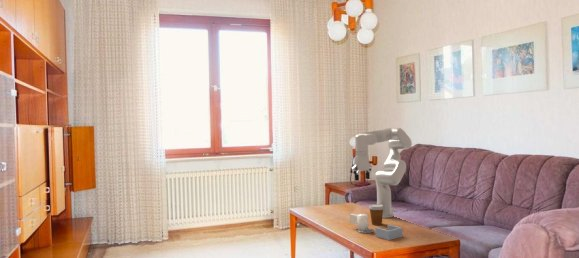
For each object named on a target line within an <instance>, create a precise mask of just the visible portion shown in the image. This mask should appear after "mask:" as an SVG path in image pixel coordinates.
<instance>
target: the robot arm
mask: <svg viewBox="0 0 579 258" xmlns="http://www.w3.org/2000/svg"><path fill="white" fill-rule="evenodd" d="M354 140H355V141H354V143H355V155H354V159H353V160H354V161H353V166H352V167H351V171H352V173H353V175H354V181H359V180H360V172H365V173H364V174H365V179H366V180H370V179H371V177H370V175H371V171H372V168H373V165H372V164H370V160H369V155H368V153H369V151H368V146H374V145H376V144H379V143H385V142H387V143H388V144H387V145H388V149H389V153H388V155H387V158H386V159H385V161H384V163H383V166H382V168H383V169H382V170H381V169H380V170H377V171H376V172H375V174H374V181H375V185H376V204H381V205H383V207H384V209H383V216H382V219H389V218H393V217H394V216H395V214H394V212H397V209H396V208H392V192H391V187H390V186H397V185H399V183H400V182H401V181H402V178H403V177H404V176H405V173H406V171H407V164H406V161H405V160H403V159H401V158H402V156H401V153H400V151H399V150H409V149H410V148H411V147H412V145H413V144H412V143H413V142H412V140H411V137H410V136H409V135H408V134H407V132H406V131H405V130H404V129H403V128H401V127H386V128H382V129H378V130H372V131H364V132H360V133H358V134H356V135H355V139H354Z"/></svg>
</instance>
